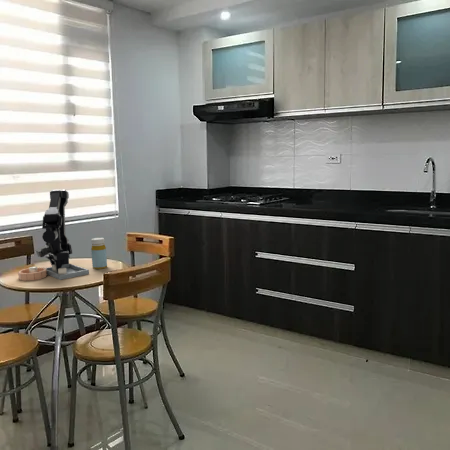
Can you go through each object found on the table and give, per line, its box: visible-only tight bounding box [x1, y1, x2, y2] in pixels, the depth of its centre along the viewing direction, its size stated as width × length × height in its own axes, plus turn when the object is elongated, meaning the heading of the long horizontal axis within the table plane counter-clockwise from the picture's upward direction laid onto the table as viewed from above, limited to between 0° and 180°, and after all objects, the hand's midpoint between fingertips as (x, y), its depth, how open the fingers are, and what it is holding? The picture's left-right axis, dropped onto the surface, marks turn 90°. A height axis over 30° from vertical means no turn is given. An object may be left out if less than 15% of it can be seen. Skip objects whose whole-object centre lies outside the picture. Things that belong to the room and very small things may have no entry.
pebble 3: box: [58, 268, 67, 275], centre depth 220 cm, size 4×4×4 cm
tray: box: [45, 263, 90, 280], centre depth 227 cm, size 20×14×2 cm
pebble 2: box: [51, 264, 58, 273], centre depth 227 cm, size 4×4×4 cm
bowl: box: [17, 266, 48, 281], centre depth 221 cm, size 12×12×4 cm
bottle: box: [90, 237, 108, 270], centre depth 236 cm, size 7×7×15 cm
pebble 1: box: [28, 266, 38, 273], centre depth 223 cm, size 4×4×4 cm
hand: (56, 271), depth 227 cm, fingers closed on pebble 2, 4 cm apart
